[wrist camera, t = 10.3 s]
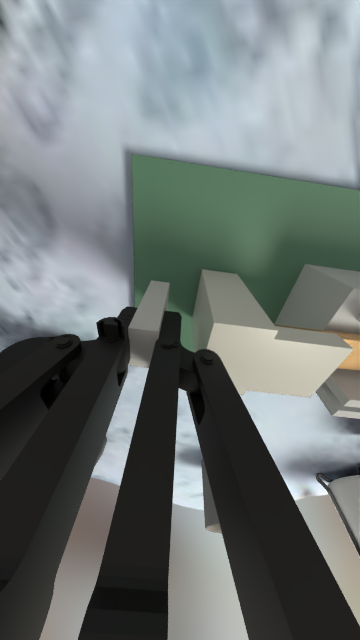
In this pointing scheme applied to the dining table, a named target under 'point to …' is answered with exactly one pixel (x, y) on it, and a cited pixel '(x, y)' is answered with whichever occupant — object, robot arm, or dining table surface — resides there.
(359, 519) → the coffee press
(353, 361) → the golden metal bar
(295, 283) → the green white block assembly
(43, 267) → the dining table surface
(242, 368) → the cream white stepped block
